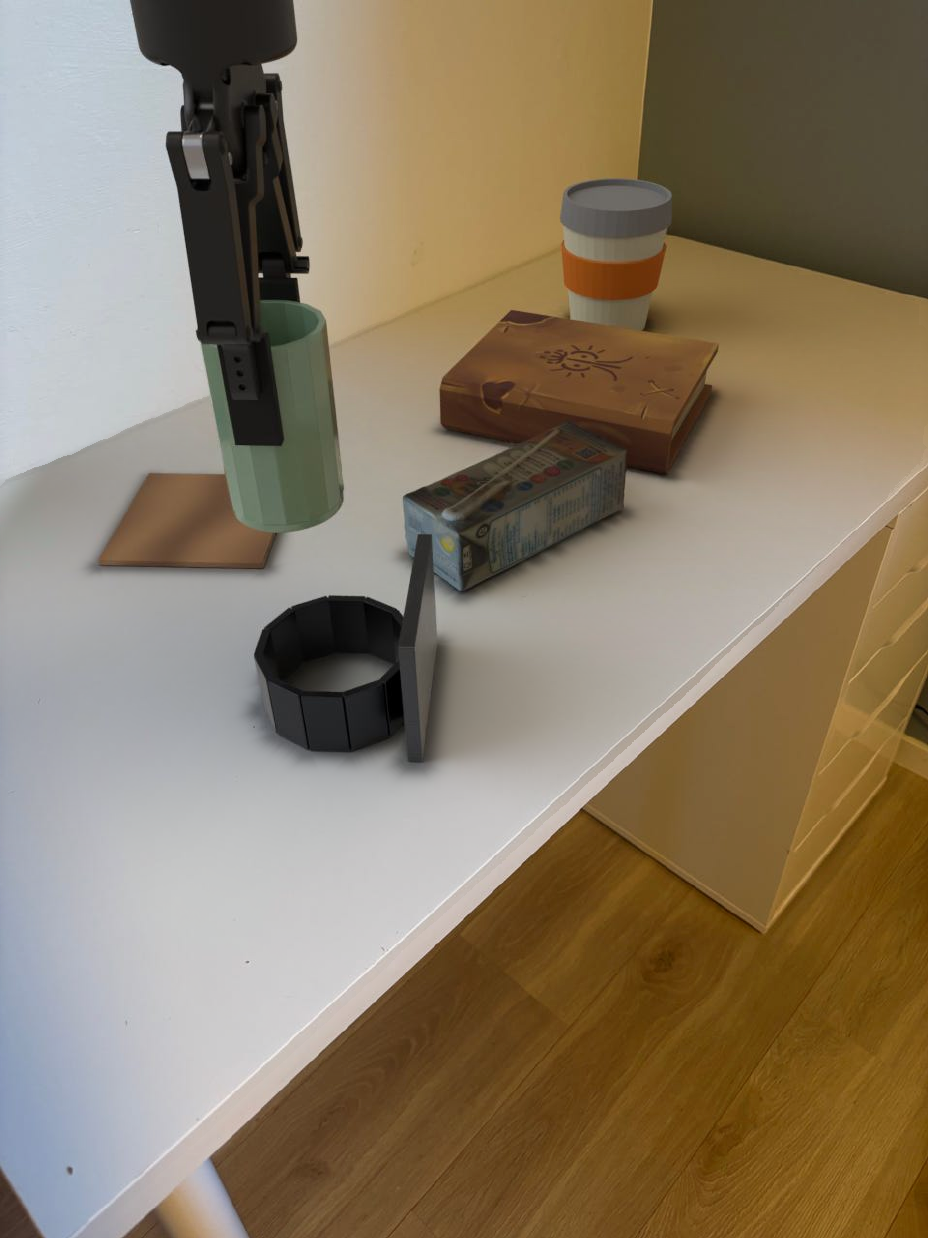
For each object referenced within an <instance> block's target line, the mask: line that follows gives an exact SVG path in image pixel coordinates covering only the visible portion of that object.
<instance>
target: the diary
mask: <svg viewBox="0 0 928 1238" xmlns="http://www.w3.org/2000/svg"><path fill="white" fill-rule="evenodd" d="M719 347H720V343H719V342H713V341H706V340H700V339H694V338H688V337H681V336H675V335H669V334H663V333H656V332H650V331H646V330H642V331H639V330H633V329H627V328H621V327H615V326H608V325H602V324H596V323H590V322H584V321H578V320H571V319H570V318H565V317H558V316H553V315H546V314H541V313H535V312H534V313H533V312H528V311H523V310H515V309H511V310H509V311H508V312H507V313H506V314H505V315H504V316H503V317H502V318H501V319H500V320H499V321H498V322H497V323H496V324H495V325H494V326H493V327H492V328H491V329H490V330H489V331H488V332H487V333H486V334H485V335H484V336H483V337H482V338H481V339H480V340H478V341H477V342H476V344H475V345H474V346H473V347H472V348H470V350H469V351H467V352H466V354H465V355H463V357H462V358H461V359H459V360H458V361H457V362H456V363H455V364H454V365H453V366H452V367H451V368H450V369H449V370H448V371H447V372H446V373H445V374H444V375H443V376H442V379H441V382H440V385H439V418H440V420H439V421H440V422H439V424H440V425H441V426H442V428H443V429H447V430H452V431H456V432H459V433H460V432H461V433H466V434H469V435H470V434H471V435H474V436H475V435H476V436H480V437H484V438H490V439H494V440H499V441H504V442H507V443H514V444H520V443H522V442H524V441H526V440H529V439H531V438H533V437H535V436H537V435H540V434H542V433H544V432H546V431H548V430H550V429H552V428H554V427H557V426H559V425H562V424H564V423H566V422H567V421H570V422H571V423H573V424H575V425H578V426H579V427H581V428H582V429H584V430H587V431H589V432H592V433H594V434H596V435H599V436H600V437H602V438H603V439H604V440H607V441H609V442H611V443H613V444H615V445H618V446H620V447H623V448H625V449H626V451H627V458H626V459H627V463H626V467H629V468H633V469H638V470H642V471H643V470H644V471H648V472H652V473H657V474H662V475H668V473H669V471H670V469H671V467H672V466H673V464H674V462H675V460H676V458H677V457H678V455H679V453H680V451H681V449H682V447H683V446H684V444H685V442H686V441H687V438H688V436H689V434H690V432H691V431H692V429H693V427H694V425H695V423H696V422H697V420H698V418H699V416H700V414H701V413H702V412H703V411H702V410H703V409H704V407H705V405H706V403H707V401H708V400H709V398H710V396H711V394H712V390H713V385H712V384H707V383H706V378H707V374H708V373H707V372H708V370H709V368H710V366H711V364H712V363H713V362H714V359H715V357H716V356H717V354H718V353H719Z"/></svg>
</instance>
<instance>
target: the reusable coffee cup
mask: <svg viewBox="0 0 928 1238" xmlns="http://www.w3.org/2000/svg"><path fill="white" fill-rule="evenodd" d="M672 196H673V194H672V192H671V190H670V189H668V188H667V187H665V186H664V185H661V184H659V183H655V182H651V181H647V180H643V179H636V178H635V179H634V178H621V177H619V178H618V177H615V178H613V177H611V178H609V177H607V178H595V179H589V180H584V181H579V182H576V183H574V184H572V185H570V186H568V187H566V188H565V189H564V191H563V193H562V200H561V208H560V214H559V222H560V223H561V225H562V229H563V240H562V241H561V243H560V249H561V250H560V251H561V260H562V261H561V262H562V263H561V264H562V273H563V283H564V286H565V287H566V289H567V292H568V293H567V294H568V305H569V317H570V318H569V319H571V320H578V321H584V322H590V323H596V324H602V325H608V326H615V327H621V328H627V329H633V330H639V331H644V329H645V328H646V322H647V319H648V313H649V311H650V306H651V301H652V298H653V297H652V296H653V293H654V291H656V289H657V288H658V286H659V283H660V282H659V281H660V277H661V273H662V269H663V264H664V260H665V256H666V252H667V247H668V246H667V245H666V243H665V240H666V236H667V231H668V228H669V227H670V226H671V224H672V220H673V197H672Z"/></svg>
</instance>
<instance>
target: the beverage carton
mask: <svg viewBox="0 0 928 1238" xmlns="http://www.w3.org/2000/svg"><path fill="white" fill-rule="evenodd" d="M626 458H627V451H626V449H625V448H623V447H620V446H618V445H615V444H613V443H611V442H609V441H607V440H604V439H603V438H602V437H600V436H599V435H596V434H594V433H592V432H589V431H587V430H584V429H582V428H581V427H579V426H578V425H575V424H573V423H571V422H570V421H567V422H566V423H564V424H562V425H559V426H557V427H554V428H552V429H550V430H548V431H546V432H544V433H542V434H540V435H537V436H535V437H533V438H531V439H529V440H526V441H524V442H522V443H520V444H518V443H516V444H515V445H514V446H512V447H509V448H507V449H505V450H503V451H501V452H499V453H496V454H494V455H492V456H490V457H489V458H486V459H483V460H481V461H478V462H477V463H475V464H472V465H470V466H468V467H465V468H464V469H461V470H459V471H456V472H454V473H452V474H449V475H448V476H445V477H444V478H441V479H439V480H436V481H435V482H433V483H431V484H428V485H424V486H421V487H420V488H417V489H416V490H414V491H411V492H408V493H406V494H404V495H403V496H402V498H401V499H402V509H403V513H404V514H403V517H404V524H403V525H404V526H403V527H404V532H405V533H404V537H405V540H406V546H407V553H408V555H409V556H410V557H411V558H412V559H414V553H415V547H416V541H417V535H418V534H432V546H433V565H434V574H436V575H437V576H439V577H440V578H442V579H443V580H445V581H446V582H447V583H448V584H450V585H451V586H452V587H453V588H454V589H457V591H459V592H464V591H466V590H468V589H470V588H472V587H473V586H475V585H478V584H479V583H481V582H483V581H485V580H487V579H490V578H492V577H493V576H495V575H498V574H500V573H502V572H504V571H505V570H508V569H509V568H512V567H513V566H516V565H517V564H519V563H521V562H522V561H525V560H526V559H528V558H530V557H532V556H534V555H536V554H538V553H540V552H542V551H543V550H546V549H547V548H549V547H551V546H553V545H555V544H557V543H558V542H560V541H562V540H564V539H566V538H568V537H569V536H572V535H574V534H575V533H577V532H579V531H581V530H584V529H585V528H587V527H589V526H591V525H593V524H595V523H596V522H599V521H600V520H602V519H604V518H607V517H608V516H610V515H613V514H614V513H617V512H618V511H620V510H623V509H624V506H625V490H626V489H625V488H626V475H627V466H626V463H627V459H626Z"/></svg>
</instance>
